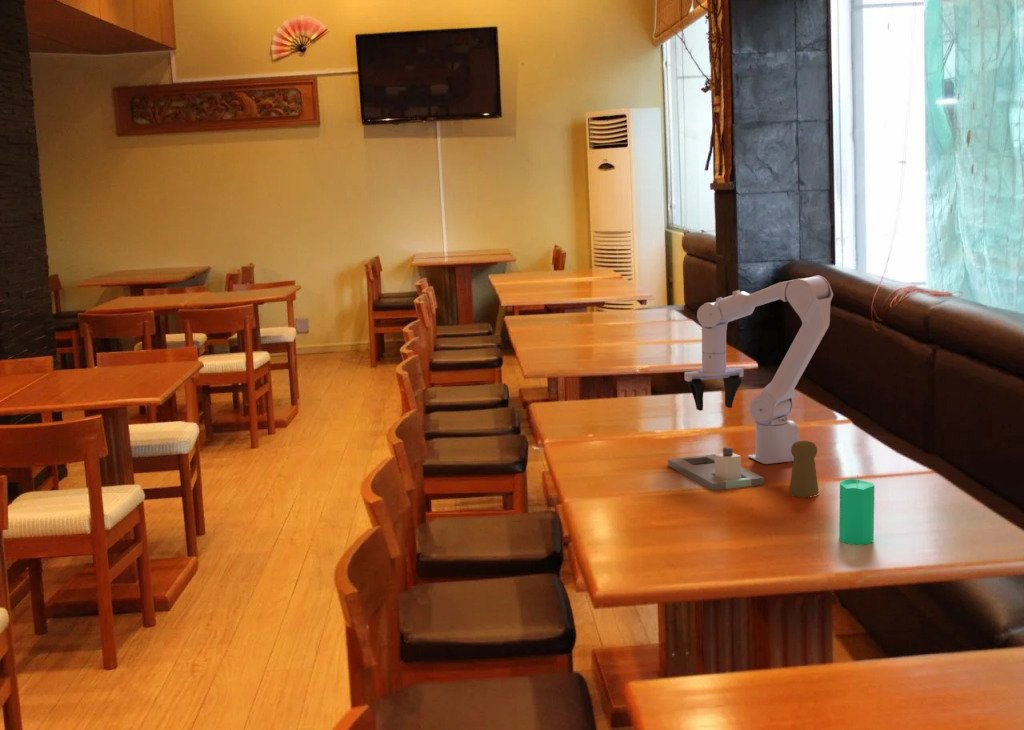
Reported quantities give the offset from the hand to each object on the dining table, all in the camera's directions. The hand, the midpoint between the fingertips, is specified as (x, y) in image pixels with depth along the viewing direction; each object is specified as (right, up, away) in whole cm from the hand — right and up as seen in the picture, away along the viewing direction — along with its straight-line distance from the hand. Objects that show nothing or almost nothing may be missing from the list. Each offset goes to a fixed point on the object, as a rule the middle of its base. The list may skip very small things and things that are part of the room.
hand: (714, 408), depth 275 cm
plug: (-2, -15, -26) cm, 30 cm away
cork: (+12, -16, -37) cm, 42 cm away
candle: (+14, -21, -68) cm, 72 cm away
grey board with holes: (-4, -14, -20) cm, 25 cm away
